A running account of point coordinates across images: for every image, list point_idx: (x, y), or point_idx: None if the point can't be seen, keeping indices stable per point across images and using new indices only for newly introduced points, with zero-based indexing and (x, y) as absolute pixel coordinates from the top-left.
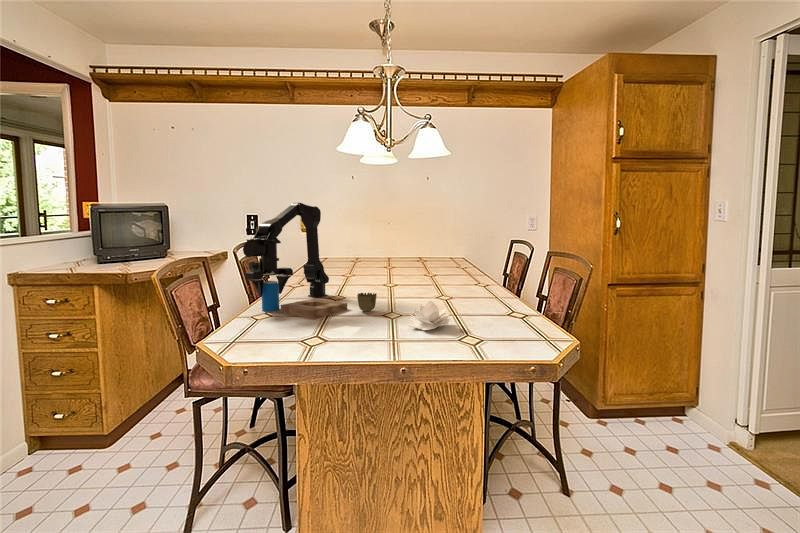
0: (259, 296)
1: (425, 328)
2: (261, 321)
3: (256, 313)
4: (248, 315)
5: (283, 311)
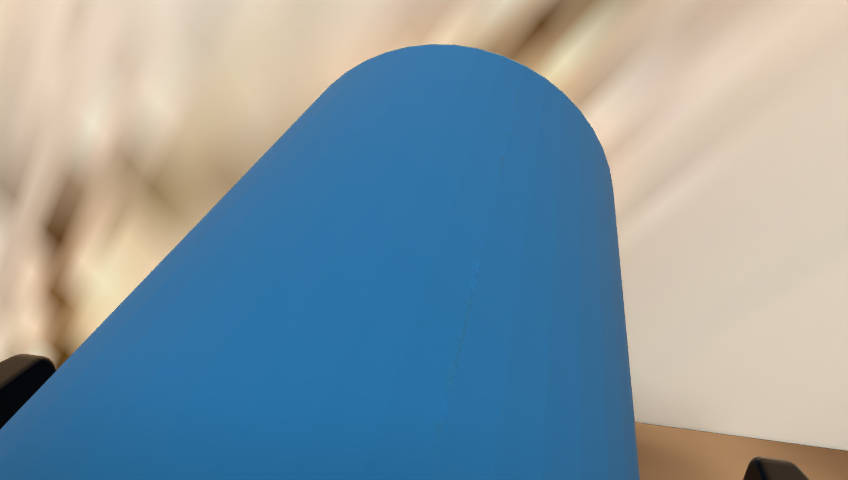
0: (17, 366)
1: None
2: None
3: (213, 66)
4: (48, 86)
5: None
